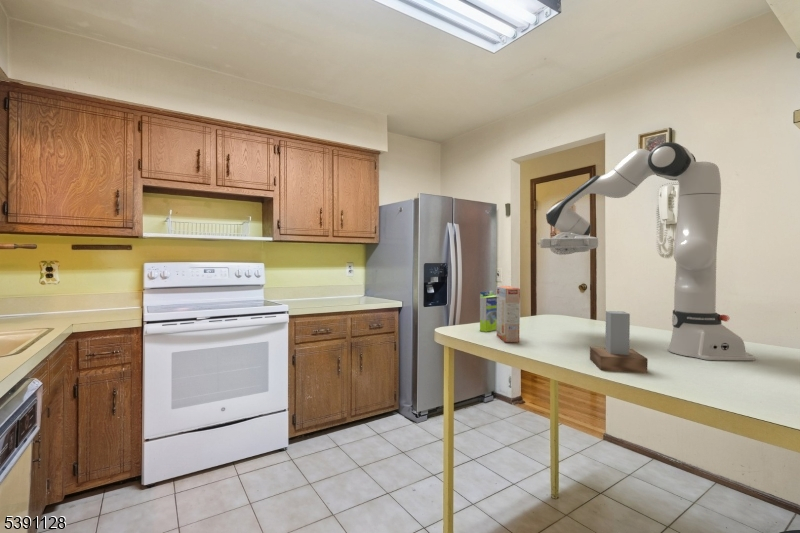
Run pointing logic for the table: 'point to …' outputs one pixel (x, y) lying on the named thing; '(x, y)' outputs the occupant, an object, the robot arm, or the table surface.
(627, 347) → the grey block
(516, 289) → the cracker box
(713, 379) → the table surface
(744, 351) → the robot arm
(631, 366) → the walnut block
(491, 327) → the box
